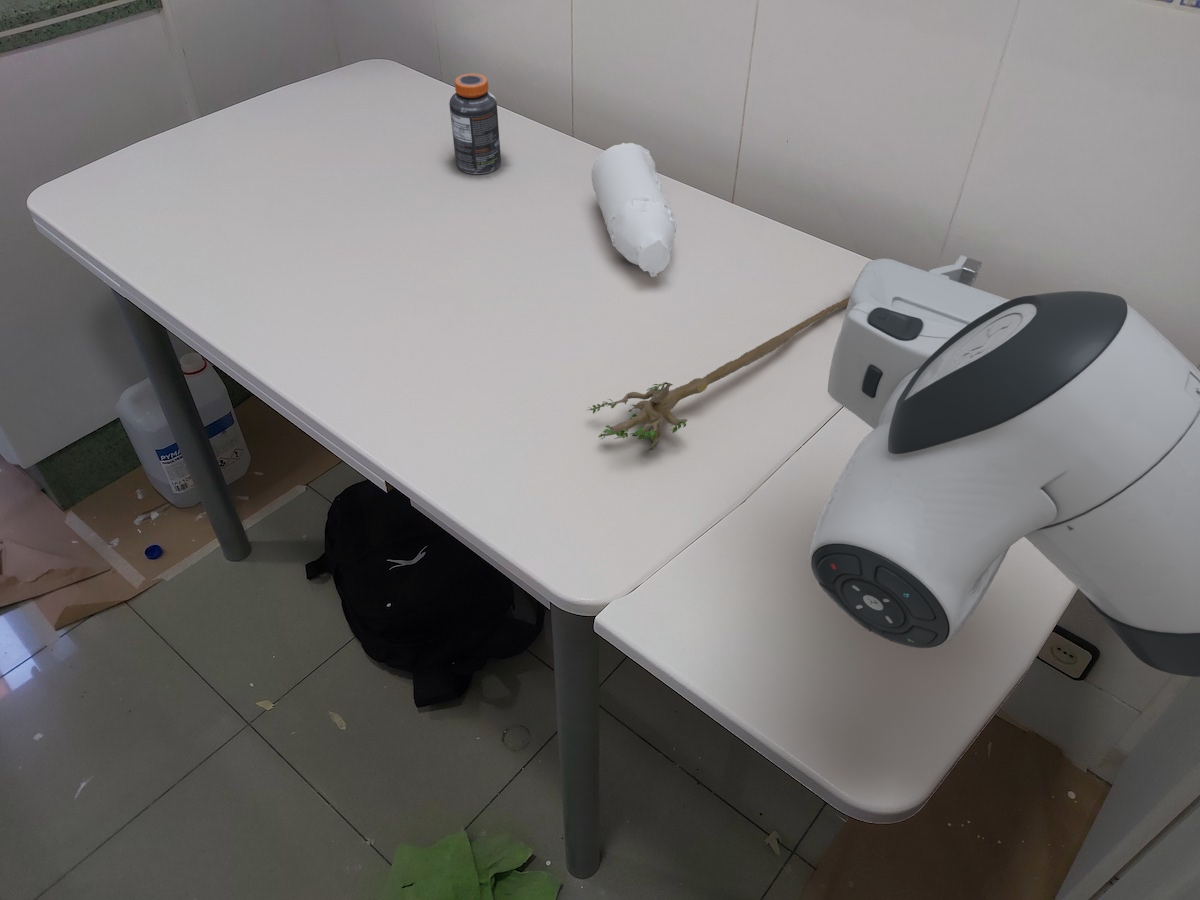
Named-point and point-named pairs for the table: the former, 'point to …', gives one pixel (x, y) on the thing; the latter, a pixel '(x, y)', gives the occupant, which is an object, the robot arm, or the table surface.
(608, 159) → the white bottle
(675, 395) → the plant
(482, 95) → the pill bottle
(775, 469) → the table surface
